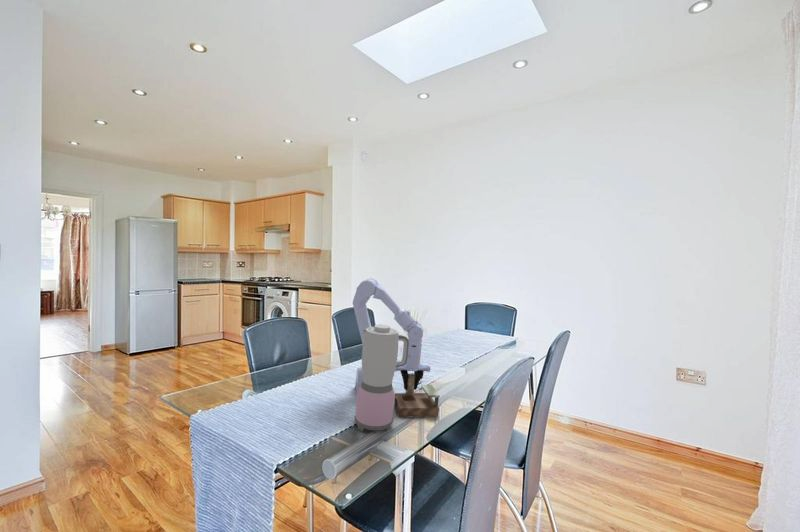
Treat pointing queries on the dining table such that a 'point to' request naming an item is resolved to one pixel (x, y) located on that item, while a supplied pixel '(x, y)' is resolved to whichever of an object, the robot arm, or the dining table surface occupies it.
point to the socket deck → (418, 403)
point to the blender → (379, 377)
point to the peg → (410, 383)
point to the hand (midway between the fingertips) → (410, 388)
